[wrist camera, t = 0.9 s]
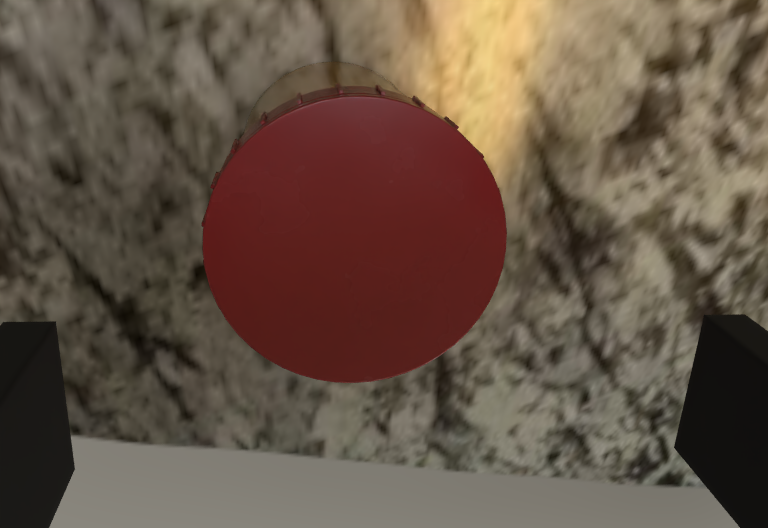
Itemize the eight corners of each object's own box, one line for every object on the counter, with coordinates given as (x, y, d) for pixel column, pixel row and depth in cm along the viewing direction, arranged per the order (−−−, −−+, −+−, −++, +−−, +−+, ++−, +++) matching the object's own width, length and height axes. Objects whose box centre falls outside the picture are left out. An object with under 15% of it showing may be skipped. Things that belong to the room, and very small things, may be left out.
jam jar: (244, 240, 29) (221, 368, 20) (239, 57, 27) (211, 101, 17) (417, 240, 30) (477, 363, 21) (428, 64, 28) (504, 109, 18)
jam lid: (213, 355, 21) (206, 388, 19) (201, 77, 18) (192, 87, 17) (477, 350, 22) (493, 382, 20) (504, 87, 19) (525, 98, 18)
